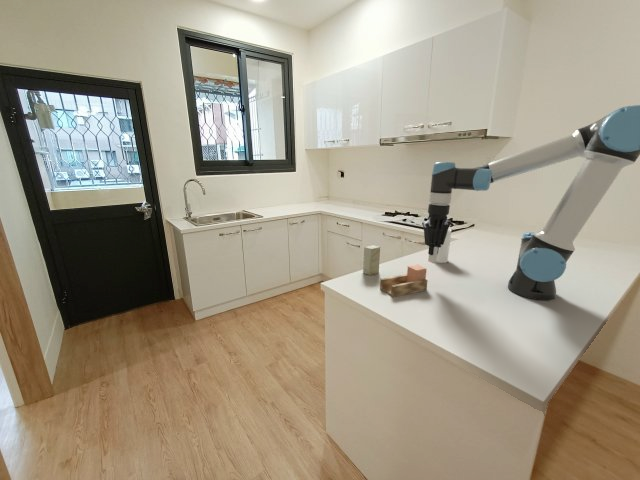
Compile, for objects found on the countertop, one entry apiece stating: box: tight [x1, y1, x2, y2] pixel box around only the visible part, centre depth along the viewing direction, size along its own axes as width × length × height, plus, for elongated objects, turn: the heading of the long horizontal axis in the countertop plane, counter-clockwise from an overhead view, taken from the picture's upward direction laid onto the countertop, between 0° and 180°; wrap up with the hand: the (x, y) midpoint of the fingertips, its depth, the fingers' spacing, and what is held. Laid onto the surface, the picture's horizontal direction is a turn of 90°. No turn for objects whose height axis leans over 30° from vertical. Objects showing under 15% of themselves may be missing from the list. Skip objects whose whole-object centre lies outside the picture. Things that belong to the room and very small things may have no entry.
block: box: [406, 264, 427, 283], centre depth 117 cm, size 5×5×8 cm
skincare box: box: [362, 244, 381, 276], centre depth 131 cm, size 6×4×12 cm
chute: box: [379, 273, 428, 298], centre depth 115 cm, size 16×8×4 cm, turn 113°
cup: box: [436, 228, 452, 264], centre depth 147 cm, size 8×8×16 cm
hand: (432, 261), depth 119 cm, fingers closed
